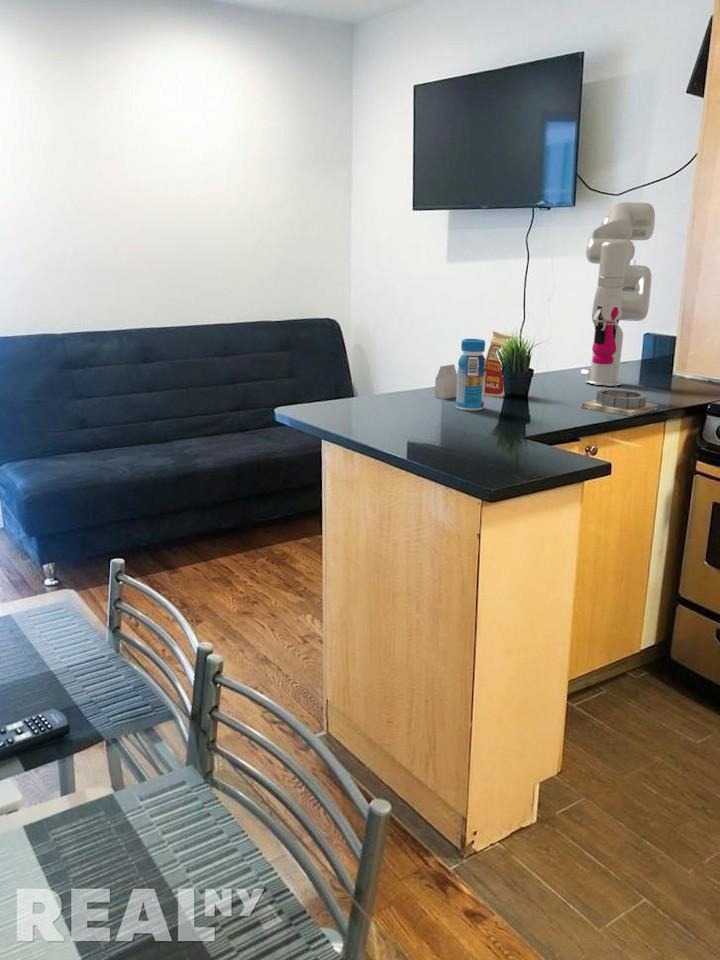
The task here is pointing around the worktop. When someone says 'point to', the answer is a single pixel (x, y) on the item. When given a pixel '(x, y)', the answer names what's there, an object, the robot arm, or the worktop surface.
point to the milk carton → (494, 367)
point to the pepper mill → (606, 343)
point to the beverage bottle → (471, 375)
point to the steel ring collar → (621, 399)
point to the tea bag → (446, 382)
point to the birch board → (618, 410)
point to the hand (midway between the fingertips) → (604, 341)
